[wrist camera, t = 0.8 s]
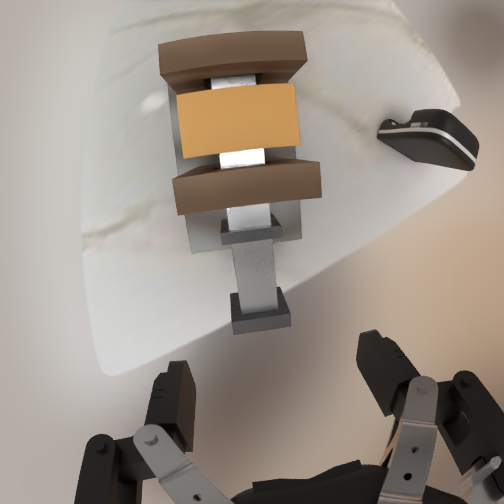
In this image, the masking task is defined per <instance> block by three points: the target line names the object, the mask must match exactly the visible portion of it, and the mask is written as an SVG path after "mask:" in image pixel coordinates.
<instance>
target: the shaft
mask: <svg viewBox="0 0 504 504" xmlns="http://www.w3.org/2000/svg"><path fill="white" fill-rule="evenodd" d="M211 85H212V89H219V88H227V87H236V86H247V85H256V80H255V73H254V74H241V75H231V76H222V77H214V78H211ZM219 154H220V162H221V169H226V168H233V167H241V166H250V165H259V164H265V158H264V149H263V148H261V149H251V150H242V151H234V152H226V153H219ZM226 209H227V216H228V218H227V219H221V230H220V235H221V242H222V245H229V244H231V245H232V252H233V259H234V266H235V273H236V280H237V287H238V293H231V294H230V299H231V319H232V327H233V332H234V335H236V334H243V333H250V332H257V331H265V330H270V329H277V328H284V327H290V326H291V314H290V311H289V308H288V306H287V303H286V301H285V298H284V296H283V293H282V290H281V288H280V287H276V276H275V264H274V252H273V240H272V239H275V238H282V226H281V224H280V223H279V222H278V220H277V219H276V218H275V216H274V215H273V214H272V213H270V208H269V203H265V204H256V205H248V206H240V207H233V208H226Z"/></svg>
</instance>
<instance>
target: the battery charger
mask: <svg viewBox="0 0 504 504" xmlns="http://www.w3.org/2000/svg"><path fill="white" fill-rule="evenodd" d="M378 139H379V140H381V141H383V142H384V143H386V144H388V145H389V146H391V147H392V148H394V149H396V150H397V151H399V152H401V153H402V154H404V155H405V156H407V157H408V158H410V159H412V160H413V161H415V162H422V163H429V164H434V165H439V166H444V167H449V168H454V169H460V170H465V171H471V170H473V169H474V167H475V166H476V161H477V160H476V159H477V155H478V151H479V142H478V140H477V138H476V137H475V135H474V134H472V132H471V131H470V130H469V129H468V128H467V127H466V126H465V125H464V124H462V123H461V122H460V121H459V120H458V119H457V118H456V117H455V116H454V115H452V114H451V113H449V112H447V111H445V110H441V109H423V110H417V111H415V112H414V113H413V114H412V117H411V120H409V121H408V122H407V123H405V124H399V123H397V122H396V121H394V120H392V119H387V120H385V121H384V122H383V124H382V126H381V128H380V130H379V132H378Z"/></svg>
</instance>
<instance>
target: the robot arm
mask: <svg viewBox="0 0 504 504" xmlns="http://www.w3.org/2000/svg"><path fill="white" fill-rule="evenodd" d="M356 361H357V366H358V368H359V370H360V372H361V374H362V376H363V377H364V379H365V381H366V383H367V385H368V386H369V388H370V390H371V392H372V394H373V396H374V397H375V399H376V401H377V403H378V405H379V407H380V408H381V410H382V412H383V414H384V416H385V417H386V416H389V415H391V414H393V415H394V417H395V420H394V422H393V426H392V429H391V432H390V436H389V439H388V442H387V445H386V448H385V451H384V454H383V456H382V458H381V460H380V463H379V465H361V463H360V460H356V461H352V462H349V463H346V464H342V465H339V466H336V467H333V468H331V469H329V470H327V471H325V472H323V473H321V474H319V475H317V476H315V477H312V478H310V479H273V480H266V481H258V482H252V484H253V488H251V489H248V490H245V491H243V492H241V493H239V494H237V495H236V496H234V497H233V498H231V499H229V498H228V497H226V496H225V495H224V494H223V493H222V492H221V491H220V490H219V489H218V488H217V487H216V486H215V485H214V484H213V483H212V482H211V481H210V480H209V479H208V478H207V477H206V476H205V475H204V474H203V473H202V472H201V471H200V470H199V469H198V468H197V466H196V465H195V464H193V463H192V462H191V461H190V460H189V459H188V458H187V457H186V456H185V452H192V451H193V437H194V420H195V405H196V387H195V382H194V380H193V377H192V374H191V371H190V368H189V365H188V363H187V361H186V360H183V361H170V362H169V366H168V371H167V372H166V373H160V374H159V375H158V377H157V378H156V379H155V381H154V384H153V388H152V390H153V391H152V393H151V398H150V401H149V406H148V411H147V415H146V420H145V424H144V426H143V427H141V428H139V429H138V430H137V431H136V433H135V435H134V436H132V437H128V438H123V439H118V440H113V438H111V437H110V436H109V435H106V434H98V435H95V436H93V437H92V438H91V439H90V440H89V441H88V443H87V445H86V449H85V453H84V457H83V462H82V466H81V470H80V475H79V480H78V485H77V490H76V496H75V502H74V504H141V500H142V482H143V480H146V479H151V478H156V477H157V478H158V480H159V483H160V485H161V486H162V487H163V489H164V490H165V491H166V492H167V494H168V495H169V496H170V498H171V499H172V500H173V501H174V502H175V504H497V503H498V502H500V501H501V500H503V499H504V413H503V411H502V410H501V408H500V407H499V405H498V404H497V403H496V401H495V400H494V399H493V397H492V396H491V395H490V393H489V392H488V391H487V389H486V388H485V387H484V386H483V384H482V383H481V381H480V380H479V379H478V377H476V375H475V374H474V373H472V372H470V371H459V372H458V373H456V374H455V376H454V378H453V380H451V381H444V382H436V381H435V380H434V379H432V378H430V377H428V376H421V375H420V374H419V372H418V371H417V370H416V368H415V367H414V366H413V364H412V363H411V362H410V360H409V359H408V358H407V356H405V354H404V353H403V352H402V350H401V349H400V348H399V346H398V345H397V344H396V342H394V341H393V340H391V339H389V338H388V337H385V338H382V336H381V335H380V334H379V332H378V331H377V330H375V329H374V330H371V331H367V332H363V333H360V336H359V342H358V349H357V355H356ZM463 413H464V414H463ZM465 416H466V417H465ZM466 418H467V419H468V420H467V419H466ZM468 421H469V422H468ZM437 429H438V430H439V432H440V433H441V435H442V437H443V439H444V441H445V443H446V444H447V447H448V449H449V450H450V452H451V454H452V456H453V458H454V460H455V462H456V464H457V466H458V468H459V471H460V473H461V475H462V477H461V480H460V483H459V493H460V494H461V495H460V497H457V496H455V495H452V494H449V493H446V492H443V491H440V490H437V489H435V488H432V487H430V486H427V485H426V482H427V479H428V475H429V471H430V467H431V462H432V458H433V453H434V448H435V442H436V437H437Z"/></svg>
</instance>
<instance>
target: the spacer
mask: <svg viewBox="0 0 504 504" xmlns="http://www.w3.org/2000/svg"><path fill="white" fill-rule="evenodd" d="M176 98H177V108H178V118H179V126H180V135H181V143H182V151H183V158H184V159H185V158H192V157H199V156H206V155H212V154H219V153H226V152H234V151H242V150H251V149H261V148H275V147H286V146H300V145H301V143H300V133H299V123H298V114H297V106H296V98H295V90H294V83H283V84H261V85H247V86H236V87H227V88H219V89H211V90H204V91H198V92H191V93H186V94H180V95H176Z"/></svg>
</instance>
